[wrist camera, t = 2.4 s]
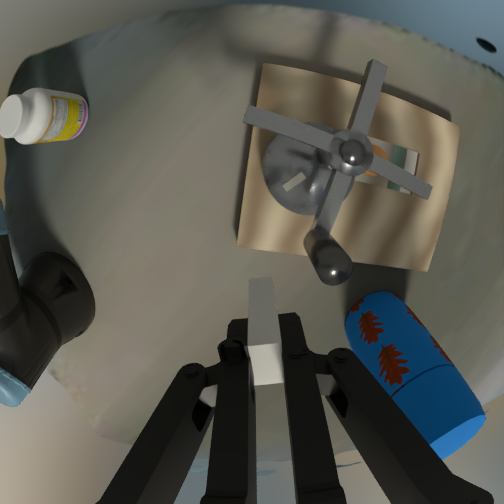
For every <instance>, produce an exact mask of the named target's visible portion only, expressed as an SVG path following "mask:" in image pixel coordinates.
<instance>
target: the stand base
mask: <svg viewBox="0 0 504 504" xmlns="http://www.w3.org/2000/svg"><path fill="white" fill-rule="evenodd" d="M360 86H361V85H360V84H357V83H353V82H350V81H347V80H343V79H339V78H336V77H332V76H328V75H324V74H320V73H316V72H312V71H307V70H302V69H297V68H292V67H287V66H281V65H275V64H269V63H263V66H262V73H261V79H260V85H259V92H258V98H257V105H256V107H258V108H261V109H264V110H268V111H271V112H274V113H277V114H280V115H282V116H285V117H288V118H291V119H294V120H296V121H299V122H302V123H304V122H314V123H320V124H323V125H326V126H328V127H330V128H332V129H334V130H335V131H337V130H344V129H347V126H348V123H349V120H350V117H351V114H352V111H353V108H354V105H355V102H356V99H357V96H358V92H359V89H360ZM459 133H460V127H459V126H457V125H455V124H453V123H451V122H449V121H448V120H446V119H444V118H442V117H440V116H438V115H436V114H433V113H431V112H429V111H427V110H425V109H423V108H420V107H418V106H416V105H414V104H411V103H409V102H407V101H404V100H402V99H399V98H397V97H394V96H391V95H389V94H386V93H383V92H380V95H379V98H378V102H377V105H376V108H375V111H374V114H373V118H372V121H371V124H370V127H369V130H368V133H367V137H368V139H369V140H370V142H371V144H374V145H377V146H379V147H381V148H382V149H383V150H384V151H385V153H386V155H387V159H388V161H389V162H391V163H393V164H395V165H396V166H398V167H400V168H402V169H404V170H406V171H407V172H409V173H411V174H413V175H414V176H416V177H418V178H420V179H421V180H423V181H425V182H426V183H428V184H430V185H431V186H433V188H432V191H431V193H430V196H429V199H428V200H426V199H423V198H421V197H419V196H417V195H415V194H414V193H412V192H410V191H408V190H406V189H404V188H402V187H401V186H399V185H397V184H395V183H393V182H391V181H389V180H387V179H385V178H383V177H381V176H379V175H377V176H369V175H366V174H365V173H363V174H361V175H358V176H355V180H354V184H353V187H352V189H351V191H350V193H349V195H348V196H347V197H346V199H345V200H344V201H343V202H342V205H341V207H340V210H339V212H338V215H337V217H336V220H335V222H334V225H333V227H332V230H331V232H330V234H331V235H332V237H333V238H334V239H335V240H336V241H337V242H338V244H339V245H340V246H341V247H342V248H343V249H344V251H345V252H346V253H347V254H348V255H349V257H350V258H351V260H352V262H358V263H366V264H373V265H381V266H389V267H396V268H404V269H411V270H419V271H426V272H427V271H428V268H429V265H430V262H431V259H432V256H433V253H434V250H435V247H436V243H437V240H438V237H439V233H440V230H441V226H442V223H443V219H444V215H445V211H446V207H447V203H448V199H449V194H450V189H451V185H452V179H453V174H454V168H455V163H456V156H457V149H458V142H459ZM276 135H277V133H274V132H271V131H268V130H265V129H261V128H258V127H255V126H253V131H252V138H251V145H250V152H249V159H248V166H247V173H246V180H245V187H244V194H243V202H242V209H241V216H240V224H239V232H238V239H237V247H242V248H250V249H258V250H266V251H274V252H281V253H289V254H297V255H305V256H308V254H307V252H306V250H305V248H304V245H303V241H304V237H305V235H306V234H307V233H308V232H309V229H310V227H311V224H312V222H313V219H314V217H315V215H310V216H308V215H301V214H297V213H294V212H291V211H289V210H287V209H286V208H284V207H283V206H281V205H280V204H279V203H278V202H277V201H276V200H275V199H274V198H273V196H272V195H271V193H270V192H269V190H268V188H267V186H266V184H265V181H264V177H263V172H262V163H263V157H264V153H265V150H266V148H267V146H268V144H269V143H270V141H271V140H272V139H273V138H274V137H275V136H276Z"/></svg>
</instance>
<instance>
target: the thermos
mask: <svg viewBox="0 0 504 504" xmlns="http://www.w3.org/2000/svg"><path fill="white" fill-rule="evenodd" d="M345 331H346V335H347V338H348V340H349V343H350V346H351V349H352V351H353V352H354V353H355V354H356V356H357V357H358V358H359V359H360V360H361V362H362V363H363V364H364V365H365V366H366V368H367V369H368V370H369V371H370V372H371V374H372V375H373V376H374V377H375V379H376V380H377V381H378V382H379V383H380V385H381V386H382V387H383V388H384V389H385V391H386V392H387V393H388V394H389V395H390V397H391V398H392V399H393V400H394V402H395V403H396V404H397V405H398V406H399V408H400V409H401V410H402V411H403V413H404V414H405V415H406V416H407V417H408V419H409V420H410V421H411V422H412V424H413V425H414V426H415V427H416V429H417V430H418V431H419V432H420V433H421V435H422V436H423V437H424V438H425V440H426V441H427V442H428V443H429V445H430V446H431V447H432V448H433V450H434V451H435V452H436V453H437V455H438V456H439V457H440V458H441V460H443V459H444V458H446V457H448V456H449V455H451V454H452V453H454V452H455V451H456V450H458V449H459V448H460V447H462V446H463V445H464V444H466V443H467V442H468V441H469V440H470V439H471V438H472V437H473V436H474V435H475V434H476V433H477V432H478V431H479V429H480V428H481V427H482V426H483V424H484V422H485V420H486V416H485V413H484V411H483V409H482V406H481V404H480V402H479V401H478V399H477V398H476V396H475V395H474V393H473V392H472V390H471V389H470V387H469V386H468V384H467V383H466V381H465V380H464V378H463V377H462V376H461V374H460V373H459V371H458V370H457V369H456V368H455V366H454V364H453V363H452V362H451V360H450V359H449V358H448V356H447V355H446V354H445V352H444V351H443V350H442V348H441V347H440V346H439V344H438V343H437V342H436V340H435V339H434V338H433V337H432V335H431V334H430V333H429V332H428V330H427V329H426V328H425V327H424V325H423V324H422V323H421V322H420V320H419V319H418V318H417V317H416V315H415V314H414V313H413V312H412V311H411V309H410V308H409V307H408V306H407V305H406V304H405V303H404V302H403V301H402V300H401V299H400V298H399V297H398V296H397V295H395V294H393V293H391V292H382V291H380V292H376V293H373V294H369V295H368V296H366V297H365V298H363V299H361V300H360V301H359V302H358V303H357V304H356V305H355V306H354V307H353V308H352V309H351V311H350V312H349V314H348V316H347V318H346V323H345Z"/></svg>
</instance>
